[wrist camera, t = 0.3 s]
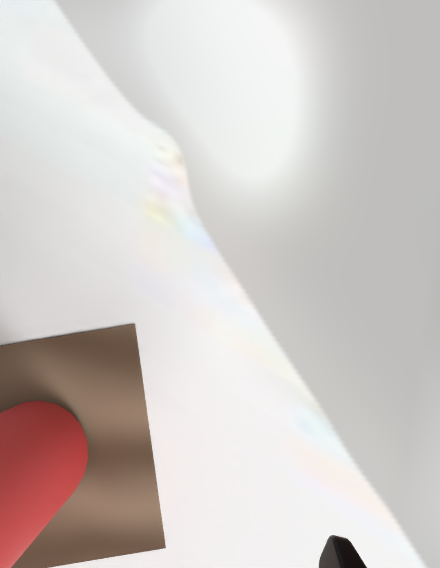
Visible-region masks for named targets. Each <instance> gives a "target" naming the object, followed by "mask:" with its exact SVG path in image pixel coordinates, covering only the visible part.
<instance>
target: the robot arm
mask: <svg viewBox="0 0 440 568" xmlns="http://www.w3.org/2000/svg"><path fill="white" fill-rule="evenodd" d="M319 568H367V567H366V566H365V564H364V562H363V561H362V559H361V558H360V556H359V554H358V553H357V551H356V550H355V548H354V547H353V545H352V543H351V542H350V541H349V540H348V539H346V538H344V537H339V536H335V535H331V536H330V537H329V538H328V540H327V543H326V545H325V547H324V549H323V552H322V554H321V557H320V560H319Z"/></svg>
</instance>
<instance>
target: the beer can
mask: <svg viewBox="0 0 440 568" xmlns="http://www.w3.org/2000/svg"><path fill="white" fill-rule="evenodd" d="M87 461H88V449H87V439H86V437H85V434H84V432H83V429H82V427H81V425H80V423H79V422H78V421H77V420H76V419H75V417H74V416H73V415H72V414H71V413H70V412H68V411H67V410H65V409H64V408H62V407H60V406H59V405H57V404H54V403H49V402H45V401H31V402H23V403H21V404H19V405H17V406H14V407H12V408H10V409H8V410H5V411H3V412H1V413H0V568H11V567H12V566H13V565H14V564H15V562H16V561H17V560H18V559H19V557H20V556H21V555H22V554H23V553H24V551H25V550H26V549H27V548H28V547H29V545H30V544H31V543H32V542H33V541H34V539H35V538H36V537H37V536H38V535H39V533H40V532H41V531H42V530H43V529H44V527H45V526H46V525H47V524H48V523H49V521H50V520H51V519H52V518H53V517H54V515H55V514H56V513H57V512H58V511H59V509H60V508H61V507H62V506H63V505H64V503H65V502H66V501H67V500H68V499H69V497H70V496H71V495H72V494H73V493H74V491H75V490H76V488H77V487H78V485H79V483H80V481H81V480H82V478H83V476H84V474H85V469H86V465H87Z"/></svg>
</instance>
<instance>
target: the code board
mask: <svg viewBox="0 0 440 568" xmlns="http://www.w3.org/2000/svg"><path fill="white" fill-rule="evenodd" d="M31 401H45V402H49V403H54V404H57V405H59V406H60V407H62V408H64V409H65V410H67V411H68V412H70V413H71V414H72V415H73V416H74V417H75V419H76V420H77V421H78V422H79V423H80V425H81V427H82V429H83V432H84V434H85V437H86V439H87V449H88V461H87V465H86V469H85V474H84V476H83V478H82V480H81V481H80V483H79V485H78V487H77V488H76V490H75V491H74V493H73V494H72V495H71V496H70V497H69V499H68V500H67V501H66V502H65V503H64V505H63V506H62V507H61V508H60V509H59V511H58V512H57V513H56V514H55V515H54V517H53V518H52V519H51V520H50V521H49V523H48V524H47V525H46V526H45V527H44V529H43V530H42V531H41V532H40V533H39V535H38V536H37V537H36V538H35V539H34V541H33V542H32V543H31V544H30V545H29V547H28V548H27V549H26V550H25V551H24V553H23V554H22V555H21V556H20V557H19V559H18V560H17V561H16V562H15V564H14V565H13V566H12V567H11V568H48V567H54V566H60V565H66V564H72V563H78V562H84V561H90V560H97V559H103V558H109V557H115V556H121V555H127V554H133V553H139V552H145V551H151V550H157V549H163V548H165V547H166V546H165V539H164V532H163V525H162V517H161V510H160V503H159V496H158V488H157V481H156V474H155V466H154V459H153V452H152V445H151V437H150V430H149V423H148V416H147V408H146V401H145V394H144V386H143V379H142V372H141V365H140V357H139V350H138V343H137V336H136V328H135V324H133V325H126V326H120V327H114V328H108V329H101V330H95V331H89V332H83V333H77V334H70V335H64V336H58V337H52V338H45V339H39V340H33V341H27V342H20V343H14V344H8V345H2V346H0V413H1V412H3V411H5V410H8V409H10V408H12V407H14V406H17V405H19V404H21V403H23V402H31Z"/></svg>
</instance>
